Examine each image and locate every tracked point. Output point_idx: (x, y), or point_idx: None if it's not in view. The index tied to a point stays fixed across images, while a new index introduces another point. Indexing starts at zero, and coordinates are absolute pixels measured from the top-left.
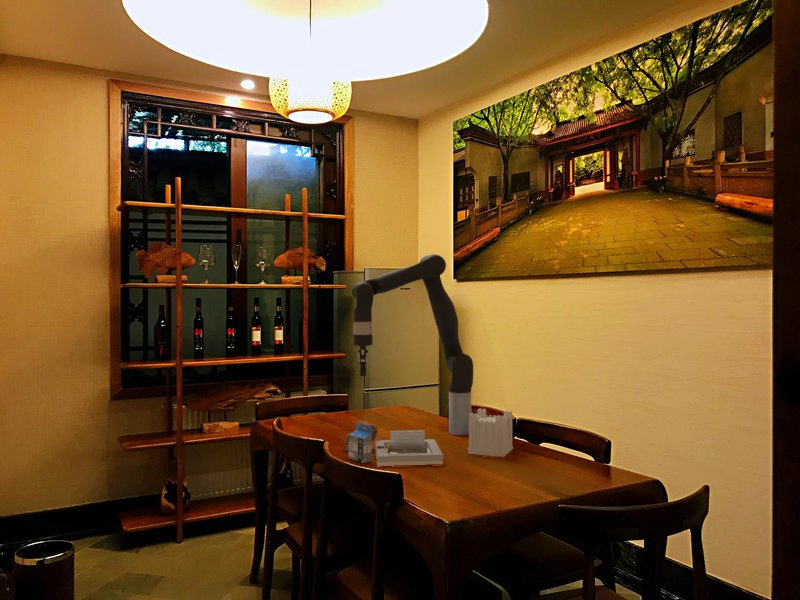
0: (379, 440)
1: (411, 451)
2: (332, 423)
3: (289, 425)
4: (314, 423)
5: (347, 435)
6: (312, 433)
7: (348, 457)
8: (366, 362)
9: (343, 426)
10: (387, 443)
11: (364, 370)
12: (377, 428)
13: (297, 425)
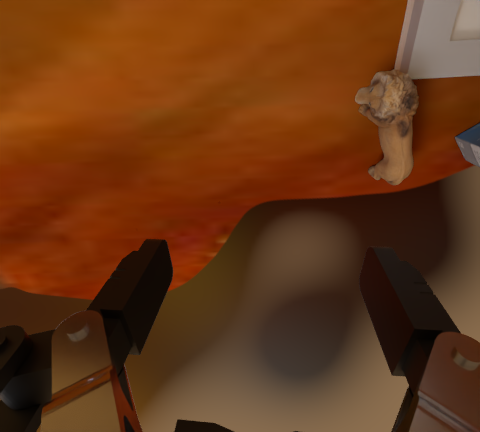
0: (410, 61)
1: None
2: (56, 214)
3: None
4: (71, 252)
5: (399, 183)
6: (176, 251)
7: (467, 160)
8: (85, 322)
9: (82, 185)
10: (451, 23)
11: (434, 301)
12: (400, 72)
13: (102, 281)
